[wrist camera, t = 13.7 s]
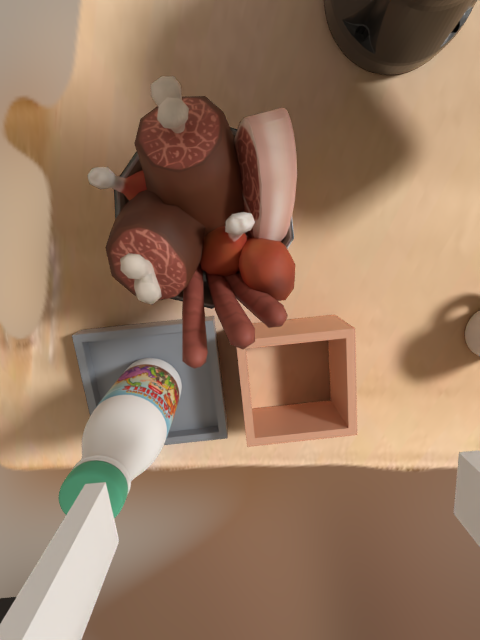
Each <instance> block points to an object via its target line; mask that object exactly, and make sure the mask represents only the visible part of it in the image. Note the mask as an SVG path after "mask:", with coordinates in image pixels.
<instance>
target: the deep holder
mask: <svg viewBox="0 0 480 640" xmlns="http://www.w3.org/2000/svg"><path fill="white" fill-rule="evenodd" d="M252 324H253V326H254V328H255V342H254V343H252V344H251V345H249V346H248V347H246V348H245V349H240V348H238V347H236V348H237V357H238V366H239V375H240V385H241V394H242V403H243V412H244V422H245V431H246V440H247V447H250V446H259V445H268V444H278V443H287V442H296V441H305V440H315V439H324V438H333V437H342V436H352V435H357V395H356V345H355V328H354V327H352V326H351V325H350V324H348V323H347V322H345V321H344V320H342V319H341V318H339V317H338V316H336V315H327V316H317V317H308V318H298V319H289V320H286V321H285V322H284V324H283V325H282V326H281V327H272V328H268V327H267V326H266V325H265V324H264V323H263V322H260V323H252ZM324 340H328V346H329V371H330V396H331V400H329V401H319V402H310V403H301V404H291V405H282V406H273V407H263V408H254V409H252V404H251V394H250V385H249V375H248V365H247V355H246V349H248V348H258V347H267V346H277V345H286V344H296V343H305V342H314V341H324Z"/></svg>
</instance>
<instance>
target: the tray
mask: <svg viewBox="0 0 480 640" xmlns="http://www.w3.org/2000/svg"><path fill="white" fill-rule="evenodd" d="M205 325H206V338H207V351H208V354H207V358H206V363H204V364H203V365H202V366H201V367H198V368H195V369H194V368H192V367H190V366H188V365H187V364H185V363H184V362H183V361H182V319H180V320H170V321H161V322H151V323H141V324H132V325H122V326H113V327H103V328H94V329H84V330H80V331H78V332H77V333H75V334H73V335H72V338H73V342H74V347H75V351H76V356H77V360H78V364H79V369H80V373H81V378H82V382H83V386H84V391H85V395H86V400H87V404H88V408H89V413H90V416H91V414H92V413H93V411H94V410H95V408H96V407H97V405H98V404H99V403H100V401H101V400H102V399H103V398H104V396H105V395H106V394H107V392H108V391H109V390H110V389H111V387H112V386H113V385H114V384H115V382H116V381H117V380H118V379H119V377H120V376H121V375H122V374H123V373H124V371H125V370H126V369H127V368H128V367H129V366H130V365H131V364H133V363H134V362H136V361H138V360H140V359H144V358H156V359H160V360H163V361H165V362H167V363H169V364H170V365H171V366H172V367H173V368H174V369H175V370H176V371H177V373H178V374H179V376H180V379H181V383H182V390H181V395H180V399H179V402H178V405H177V408H176V411H175V415H174V418H173V421H172V424H171V427H170V430H169V433H168V436H167V438H166V441H165V443H164V445H169V444H179V443H188V442H197V441H207V440H216V439H225V438H228V427H227V418H226V410H225V402H224V394H223V385H222V377H221V369H220V361H219V353H218V344H217V336H216V328H215V320H214V316H208V317H205Z"/></svg>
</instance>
